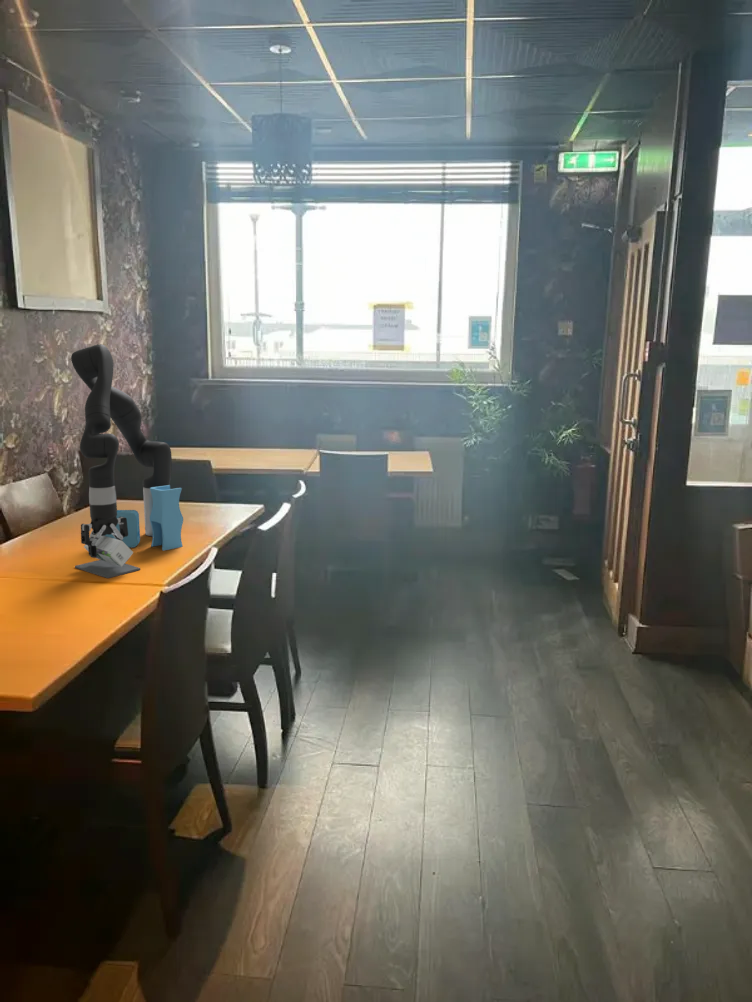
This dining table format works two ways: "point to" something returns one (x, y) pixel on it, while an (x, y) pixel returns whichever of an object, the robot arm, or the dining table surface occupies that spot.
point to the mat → (106, 568)
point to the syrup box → (112, 550)
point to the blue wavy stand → (166, 517)
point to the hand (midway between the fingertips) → (106, 554)
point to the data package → (129, 527)
